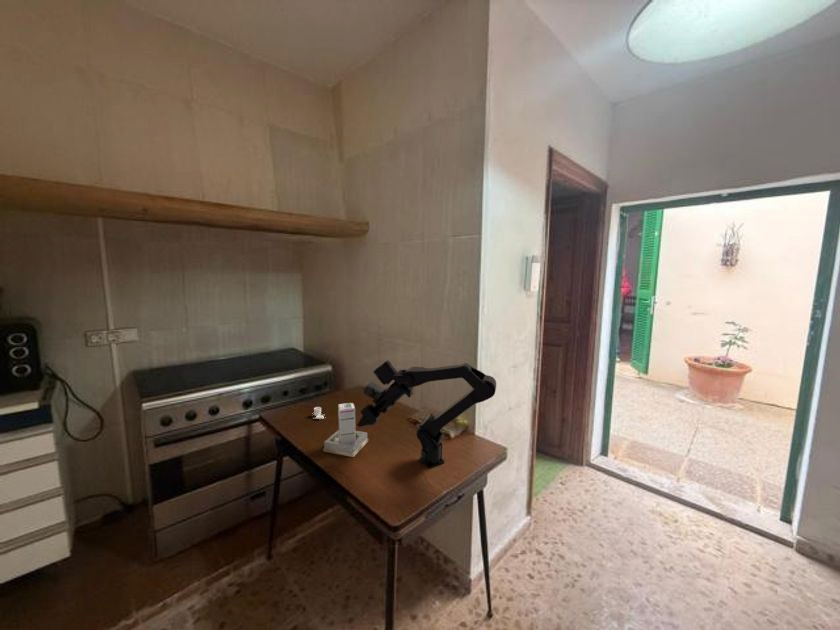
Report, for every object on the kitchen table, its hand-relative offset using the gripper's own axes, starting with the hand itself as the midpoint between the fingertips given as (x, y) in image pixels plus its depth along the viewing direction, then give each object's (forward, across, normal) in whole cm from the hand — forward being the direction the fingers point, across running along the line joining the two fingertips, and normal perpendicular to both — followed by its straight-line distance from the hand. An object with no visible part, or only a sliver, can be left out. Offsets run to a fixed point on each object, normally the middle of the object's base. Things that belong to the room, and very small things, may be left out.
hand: (363, 420), depth 119 cm
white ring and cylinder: (+32, -17, -15) cm, 39 cm away
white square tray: (+13, 0, +3) cm, 13 cm away
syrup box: (+12, 0, +2) cm, 12 cm away
